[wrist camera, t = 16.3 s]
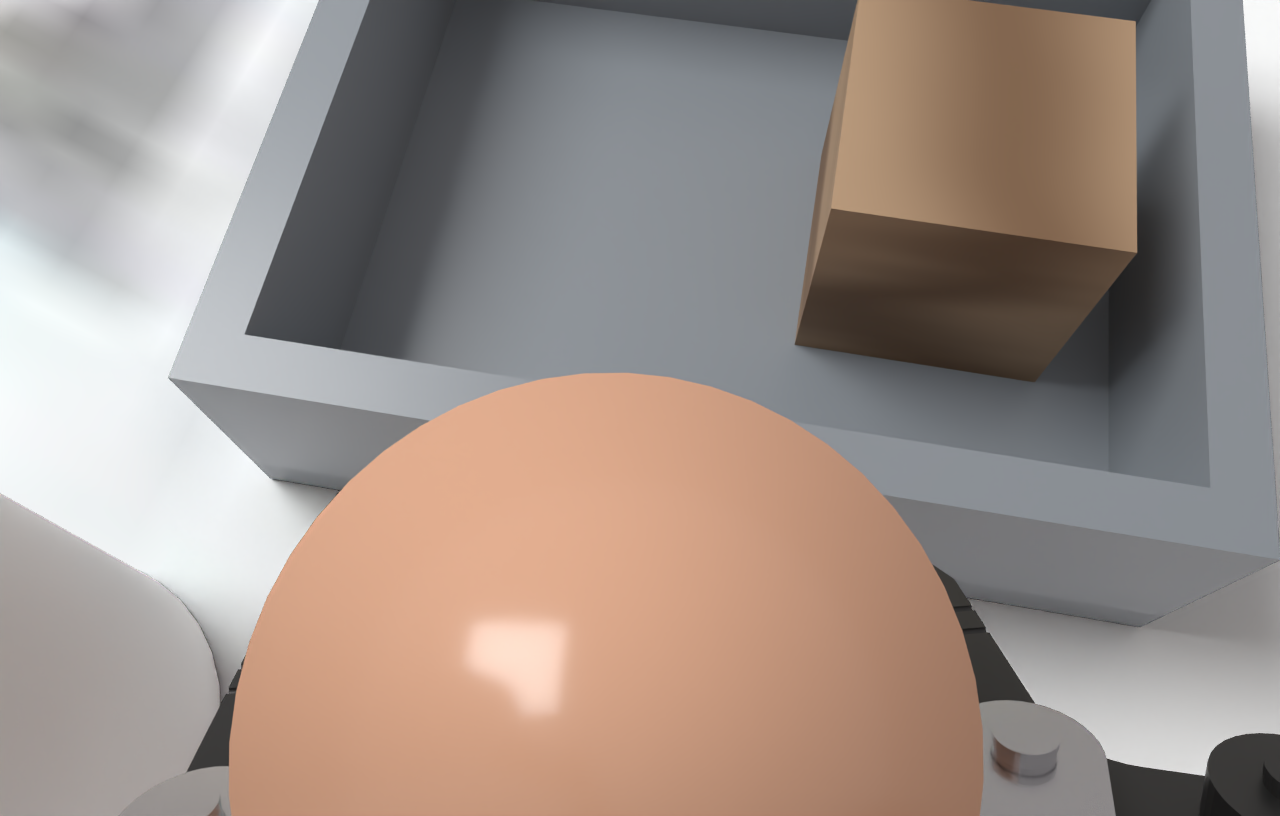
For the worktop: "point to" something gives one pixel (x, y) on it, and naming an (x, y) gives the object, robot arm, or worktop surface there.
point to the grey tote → (737, 277)
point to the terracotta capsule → (607, 625)
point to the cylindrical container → (91, 675)
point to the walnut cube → (972, 185)
